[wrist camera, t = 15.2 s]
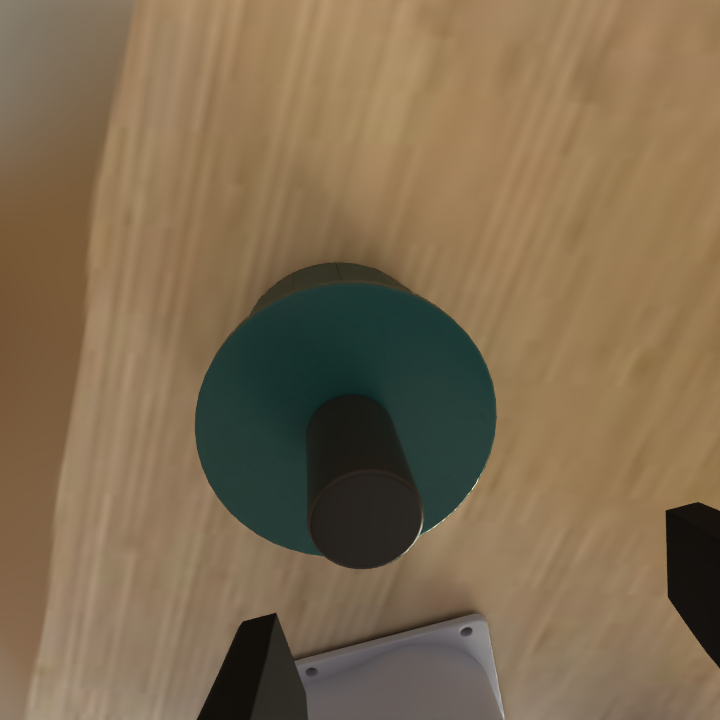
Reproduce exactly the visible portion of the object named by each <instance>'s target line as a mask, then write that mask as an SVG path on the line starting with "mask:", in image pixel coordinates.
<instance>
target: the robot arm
mask: <svg viewBox="0 0 720 720" xmlns="http://www.w3.org/2000/svg"><path fill="white" fill-rule="evenodd" d="M666 542H667V581H668V598H669V599H670V601H671V602H672V604H673V605H674V607H675V608H676V610H677V611H678V613H679V614H680V616H681V617H682V619H683V620H684V622H685V623H686V624H687V626H688V627H689V629H690V630H691V632H692V633H693V634H694V636H695V637H696V638H697V640H698V641H699V643H700V644H701V645H702V647H703V648H704V650H705V651H706V652H707V654H708V655H709V656H710V657H711V658H712V660H713V661H714V662H715V663H716V664H717V666H718V667H719V668H720V511H719V510H716V509H714V508H712V507H709V506H707V505H704V504H702V503H699V502H696V503H692V504H689V505H685V506H681V507H677V508H673V509H670V510H666ZM465 627H467V628H465ZM463 628H465V629H463ZM309 668H313V669H309ZM197 720H505V716H504V711H503V705H502V700H501V694H500V689H499V683H498V678H497V673H496V667H495V662H494V656H493V651H492V645H491V640H490V634H489V629H488V624H487V622H486V619H485V617H484V616H483V615H481V614H471V615H467V616H463V617H459V618H456V619H452V620H448V621H444V622H440V623H437V624H433V625H429V626H425V627H421V628H417V629H414V630H410V631H406V632H402V633H398V634H395V635H391V636H387V637H383V638H379V639H375V640H372V641H368V642H364V643H360V644H356V645H353V646H349V647H345V648H341V649H337V650H333V651H330V652H326V653H322V654H318V655H314V656H311V657H307V658H303V659H299V660H295V661H294V660H293V657H292V654H291V652H290V649H289V646H288V643H287V641H286V638H285V635H284V633H283V630H282V627H281V625H280V622H279V619H278V617H277V614H276V613H273V614H270V615H266V616H262V617H258V618H254V619H251V620H247V621H243V622H242V623H241V625H240V626H239V628H238V630H237V632H236V635H235V637H234V639H233V641H232V644H231V646H230V648H229V651H228V653H227V655H226V657H225V660H224V662H223V664H222V666H221V669H220V671H219V673H218V675H217V677H216V680H215V682H214V684H213V686H212V688H211V690H210V693H209V695H208V697H207V699H206V701H205V703H204V706H203V708H202V710H201V712H200V714H199V716H198V718H197Z"/></svg>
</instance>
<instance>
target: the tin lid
mask: <svg viewBox="0 0 720 720" xmlns="http://www.w3.org/2000/svg"><path fill="white" fill-rule="evenodd" d="M496 418H497V416H496V398H495V393H494V387H493V382H492V379H491V376H490V373H489V371H488V368H487V365H486V363H485V361H484V359H483V357H482V355H481V353H480V351H479V349H478V348H477V347H476V345H475V344H474V342H473V341H472V340H471V338H470V337H469V335H468V334H467V333H466V332H465V331H464V330H463V329H462V328H461V327H460V326H459V325H458V324H457V323H456V322H455V321H454V320H453V319H452V318H451V317H450V316H449V315H447V314H446V313H445V312H444V311H442V310H441V309H440V308H438V307H437V306H436V305H434V304H433V303H431V302H429V301H428V300H426V299H424V298H422V297H421V296H419V295H417V294H414V293H412V292H409V291H407V290H404V289H402V288H399V287H396V286H392V285H388V284H384V283H380V282H372V281H363V280H336V281H330V282H323V283H316V284H313V285H309V286H306V287H302V288H299V289H296V290H293V291H291V292H289V293H286V294H284V295H282V296H279V297H277V298H275V299H274V300H272V301H270V302H269V303H267V304H265V305H264V306H262V307H260V308H259V309H257V310H256V311H255V312H254V313H252V314H251V315H250V316H249V317H247V318H246V319H245V320H244V321H242V322H241V324H240V325H239V326H238V327H237V328H236V329H235V330H234V331H233V332H232V333H231V334H230V335H229V336H228V338H227V339H226V340H225V342H224V343H223V345H222V346H221V347H220V349H219V350H218V352H217V353H216V355H215V357H214V359H213V361H212V363H211V365H210V367H209V369H208V371H207V373H206V375H205V377H204V380H203V383H202V386H201V389H200V392H199V396H198V401H197V407H196V414H195V436H196V444H197V451H198V454H199V458H200V462H201V466H202V468H203V470H204V473H205V475H206V477H207V480H208V482H209V484H210V485H211V487H212V489H213V490H214V492H215V494H216V495H217V497H218V498H219V500H220V501H221V502H222V503H223V504H224V506H225V507H226V508H227V509H228V511H229V512H230V513H231V514H232V515H234V516H235V517H236V518H237V519H238V520H239V521H240V522H241V523H242V524H243V525H245V526H246V527H248V528H249V529H250V530H252V531H253V532H255V533H256V534H258V535H259V536H261V537H263V538H265V539H267V540H269V541H270V542H272V543H275V544H277V545H280V546H282V547H285V548H287V549H290V550H294V551H298V552H302V553H305V554H311V555H318V556H324V557H326V558H327V559H328V560H330V561H332V562H333V563H335V564H338V565H340V566H343V567H347V568H352V569H371V568H377V567H380V566H384V565H386V564H389V563H391V562H393V561H395V560H397V559H398V558H400V557H401V556H403V555H404V554H405V553H406V552H407V551H408V550H409V549H410V548H411V547H412V546H413V545H414V543H415V542H416V540H417V538H418V537H419V536H421V535H423V534H425V533H427V532H428V531H430V530H431V529H432V528H434V527H435V526H437V525H438V524H440V523H441V522H442V521H443V520H445V519H446V518H447V517H448V516H449V515H450V514H451V513H453V512H454V511H455V510H456V509H457V507H458V506H459V505H460V504H461V503H462V502H463V501H464V500H465V499H466V497H467V496H468V495H469V493H470V492H471V490H472V489H473V488H474V486H475V485H476V483H477V481H478V480H479V478H480V476H481V474H482V472H483V470H484V468H485V466H486V463H487V461H488V458H489V455H490V453H491V449H492V445H493V441H494V437H495V428H496Z"/></svg>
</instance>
